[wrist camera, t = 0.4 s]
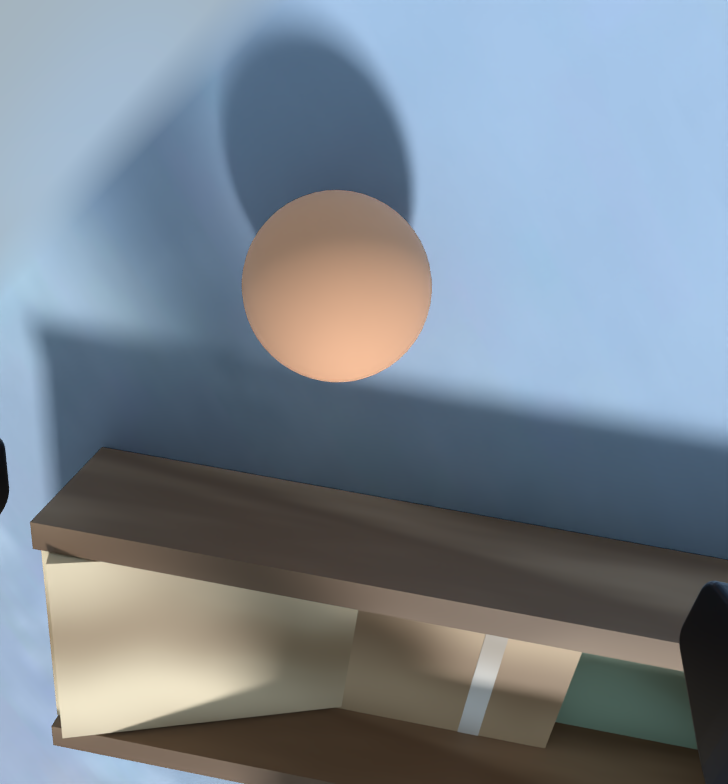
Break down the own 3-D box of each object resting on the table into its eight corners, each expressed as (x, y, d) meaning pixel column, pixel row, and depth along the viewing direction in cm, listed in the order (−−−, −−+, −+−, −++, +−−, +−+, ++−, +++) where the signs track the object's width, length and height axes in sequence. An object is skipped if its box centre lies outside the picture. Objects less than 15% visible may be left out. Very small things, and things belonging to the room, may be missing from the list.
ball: (418, 355, 21) (409, 430, 16) (262, 329, 21) (212, 395, 16) (448, 192, 18) (448, 227, 14) (274, 165, 19) (220, 190, 14)
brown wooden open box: (730, 769, 27) (786, 905, 22) (110, 648, 28) (47, 755, 23) (840, 580, 22) (937, 702, 18) (101, 447, 24) (21, 530, 19)
